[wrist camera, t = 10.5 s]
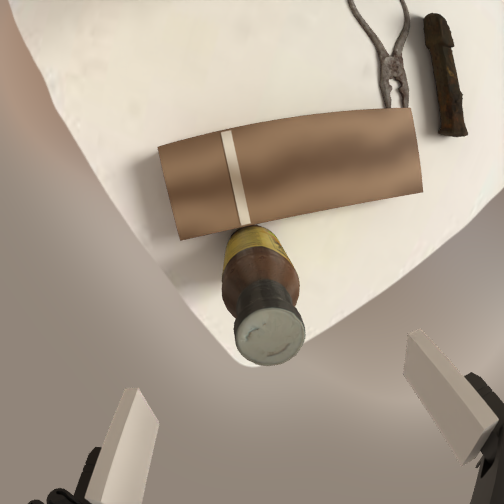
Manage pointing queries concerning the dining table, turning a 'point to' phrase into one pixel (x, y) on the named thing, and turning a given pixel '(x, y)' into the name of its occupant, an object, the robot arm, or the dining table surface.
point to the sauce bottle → (262, 297)
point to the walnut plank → (290, 168)
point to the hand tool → (445, 75)
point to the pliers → (389, 58)
